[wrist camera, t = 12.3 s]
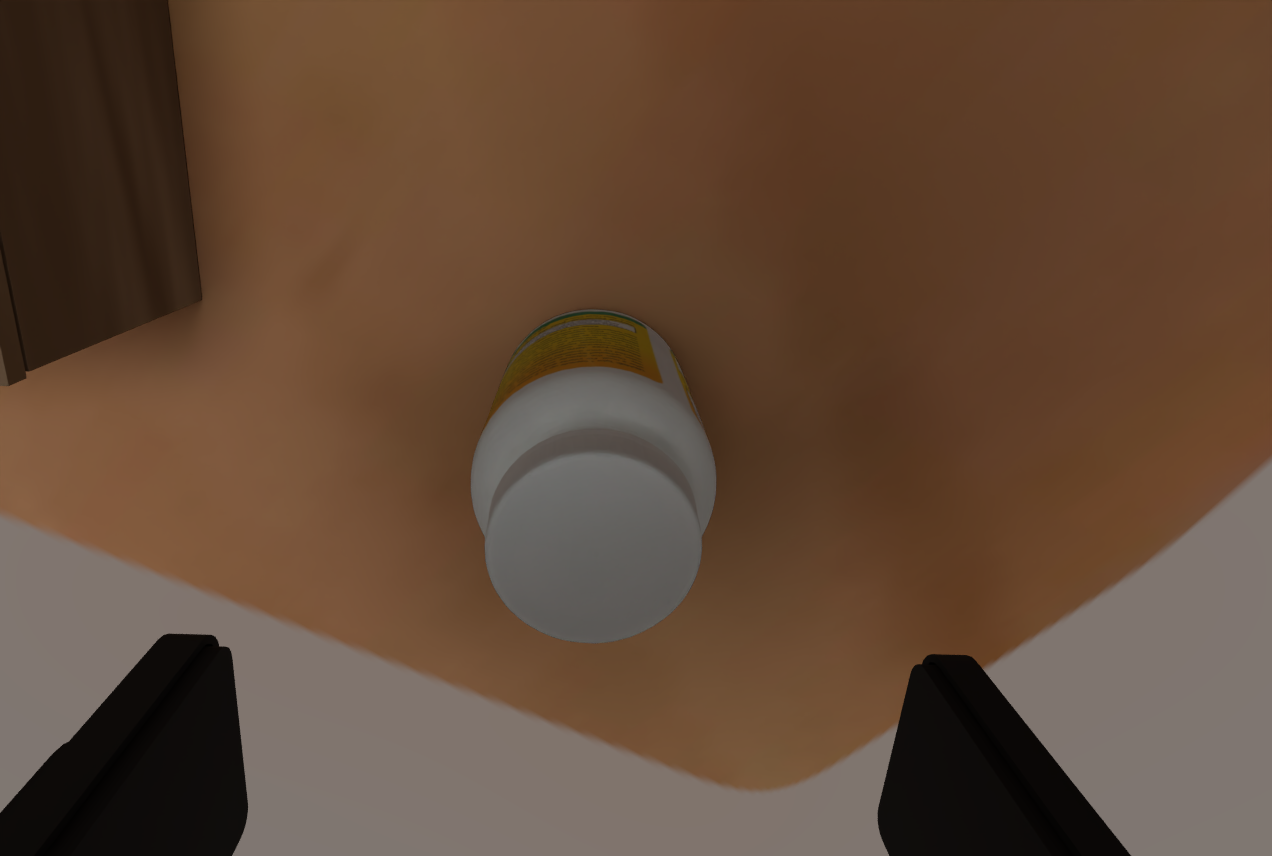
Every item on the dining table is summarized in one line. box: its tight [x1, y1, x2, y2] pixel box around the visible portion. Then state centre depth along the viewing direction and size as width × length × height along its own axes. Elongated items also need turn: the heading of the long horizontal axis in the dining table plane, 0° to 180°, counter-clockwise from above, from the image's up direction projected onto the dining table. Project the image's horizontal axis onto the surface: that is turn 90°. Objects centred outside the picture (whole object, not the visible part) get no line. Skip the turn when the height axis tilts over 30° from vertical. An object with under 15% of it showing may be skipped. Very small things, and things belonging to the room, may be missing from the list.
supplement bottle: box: [471, 309, 716, 643], centre depth 18 cm, size 5×5×10 cm
